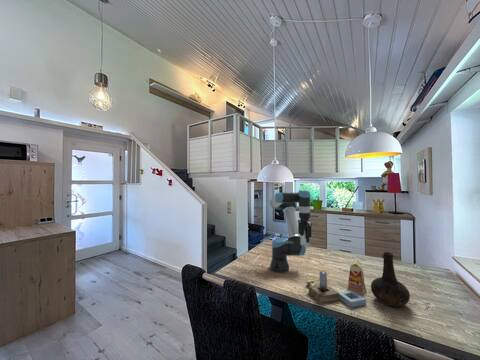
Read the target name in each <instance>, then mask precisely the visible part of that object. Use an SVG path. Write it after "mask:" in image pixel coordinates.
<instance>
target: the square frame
mask: <svg viewBox="0 0 480 360" xmlns="http://www.w3.org/2000/svg"><path fill="white" fill-rule="evenodd" d="M338 293H339V300H340V301H342V302H343V303H345V304H346V305H347V306H348V307H350V308H356V307H361V306H366V304H367V299H366V298H365V297H363V296H361V294H358V293H355V292H353V291H352V290H345V291H341V292H338Z"/></svg>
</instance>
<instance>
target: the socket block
mask: <svg viewBox="0 0 480 360" xmlns="http://www.w3.org/2000/svg"><path fill="white" fill-rule="evenodd" d="M308 293H309V294H310V295H311V296H312V297H314V298H315V299H316V300H317V301H318V302H319V303H321V304H325V303H331V302H335V301H339V300H340V299H339V292H338V291H337V290H336V289H334V288H333V287H331V286H329V285H328V284H327V292H321V291H320V283H319V284H315V285H312V286H308Z"/></svg>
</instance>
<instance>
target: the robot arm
mask: <svg viewBox="0 0 480 360" xmlns="http://www.w3.org/2000/svg"><path fill="white" fill-rule="evenodd" d="M310 191H311V190H306V189H305V190H304V189H302V190H301V189H300V190H298V191H297V192H282V191H281V192H276V193H275V194H274V196H273V197H272V198H271V199H270V200H269V205H270V206H271V208H273V209H275V210H280V211H281V210H282V213H284V214H285V219H286V220H285V221H286V226H287V227H286V228H287V233H288V238H285V237H284V238H282V237H279V238H275V239H273V240H272V242H271V255H272V256H271V261H270V265H269V269H270V270H271V271H273V272H276V273H287V272H289V270H290V266H289V265H290V264H289V262H288V257H289V256H290V257H291V256H292V257H293V256H294V257H296V256H297V257H301V256H304V255H305V254H306V250H307V248H309V247H310V238H312V224H313V223H312V222H310V220H309V219H310V218H311V213H310V212H311V194H310V193H311V192H310ZM297 208H298V217H299V219H298V220H297V217H296V210H297Z"/></svg>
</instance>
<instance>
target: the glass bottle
mask: <svg viewBox="0 0 480 360" xmlns="http://www.w3.org/2000/svg"><path fill="white" fill-rule="evenodd" d="M381 257H382V258H383V265H382V276H381V277H377V278H375V279H373V280H372V281H371V282H370V289H371V293H372V295H373V296H374V298H376V299H377V300H378V301H379V302H380V303H382V304H384V305H386V306H389V307H393V308H399V307H401V308H402V307H404V306H406V305H407V304H408V303H409V301H410V298H411V297H410V296H411V295H410V291H409V289H408V287H406V285H405V284H403V283H402V282H401V281H398V278H397V276H396V273H395V272H396V271H395V266H394V254H393V253H391V252H388V251H385V252H384V251H383V253H382V255H381Z"/></svg>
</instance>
